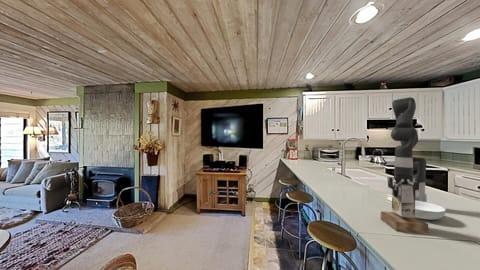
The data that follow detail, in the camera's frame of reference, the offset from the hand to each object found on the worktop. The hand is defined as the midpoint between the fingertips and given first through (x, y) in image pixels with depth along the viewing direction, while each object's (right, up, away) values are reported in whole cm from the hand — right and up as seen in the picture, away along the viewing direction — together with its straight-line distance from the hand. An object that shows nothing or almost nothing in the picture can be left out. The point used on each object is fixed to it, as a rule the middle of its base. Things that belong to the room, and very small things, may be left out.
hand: (403, 197), depth 104 cm
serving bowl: (+21, -16, +13) cm, 29 cm away
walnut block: (0, -15, 0) cm, 15 cm away
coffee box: (0, -9, 0) cm, 9 cm away
